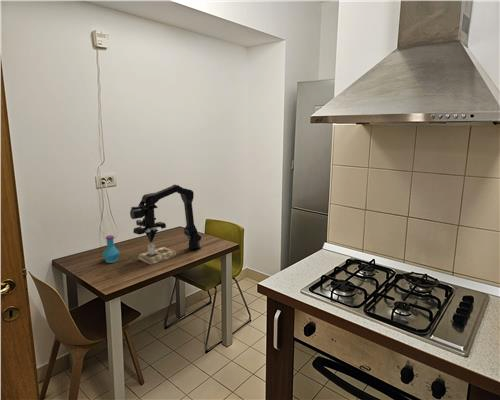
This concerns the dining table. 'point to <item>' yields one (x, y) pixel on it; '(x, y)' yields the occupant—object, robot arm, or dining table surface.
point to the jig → (157, 255)
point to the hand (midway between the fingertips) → (150, 241)
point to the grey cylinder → (151, 250)
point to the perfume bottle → (110, 250)
